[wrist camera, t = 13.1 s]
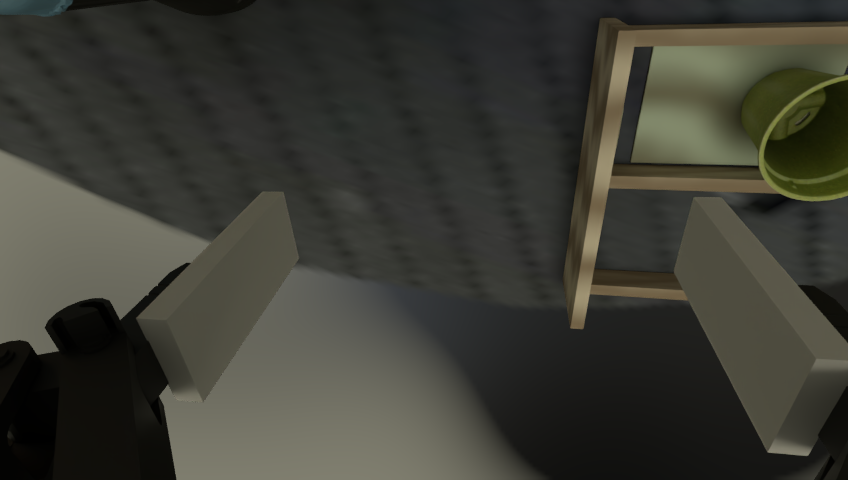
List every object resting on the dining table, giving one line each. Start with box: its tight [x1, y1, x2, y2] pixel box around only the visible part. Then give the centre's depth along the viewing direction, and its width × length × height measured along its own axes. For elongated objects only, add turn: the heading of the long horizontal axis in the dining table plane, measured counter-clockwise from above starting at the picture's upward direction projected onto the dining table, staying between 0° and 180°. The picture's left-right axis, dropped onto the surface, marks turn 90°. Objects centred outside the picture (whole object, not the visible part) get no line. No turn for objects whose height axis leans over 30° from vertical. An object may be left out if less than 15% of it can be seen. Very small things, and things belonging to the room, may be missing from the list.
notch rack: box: [563, 18, 848, 329], centre depth 41 cm, size 27×21×8 cm
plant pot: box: [741, 68, 848, 201], centre depth 36 cm, size 9×9×9 cm
